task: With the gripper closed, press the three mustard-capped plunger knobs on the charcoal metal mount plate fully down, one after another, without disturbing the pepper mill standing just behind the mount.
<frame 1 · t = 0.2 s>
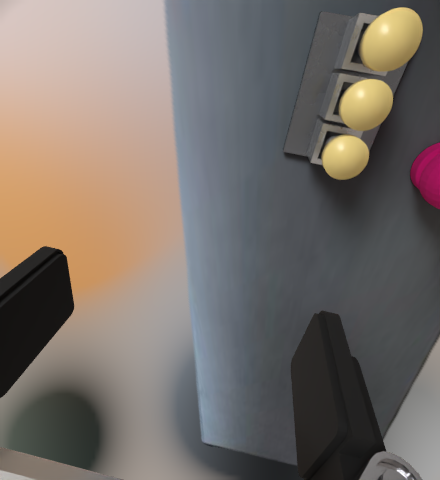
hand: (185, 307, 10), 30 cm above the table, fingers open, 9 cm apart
knob c: (339, 152, 29), point 7 cm above the table, slide at 0.0 cm
mount plate: (342, 97, 32), on the table
knob a: (380, 44, 24), point 7 cm above the table, slide at 0.0 cm
knob b: (358, 103, 26), point 7 cm above the table, slide at 0.0 cm
pepper mill: (437, 166, 34), on the table
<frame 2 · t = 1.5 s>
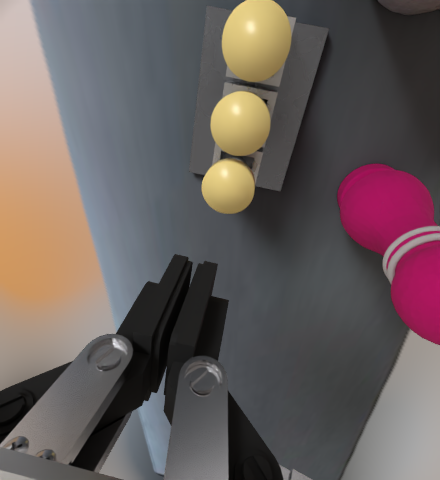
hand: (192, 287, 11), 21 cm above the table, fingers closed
knob c: (232, 177, 23), point 7 cm above the table, slide at 0.0 cm
mount plate: (249, 109, 27), on the table
knob a: (257, 46, 19), point 7 cm above the table, slide at 0.0 cm
knob b: (243, 119, 21), point 7 cm above the table, slide at 0.0 cm
pepper mill: (367, 192, 29), on the table
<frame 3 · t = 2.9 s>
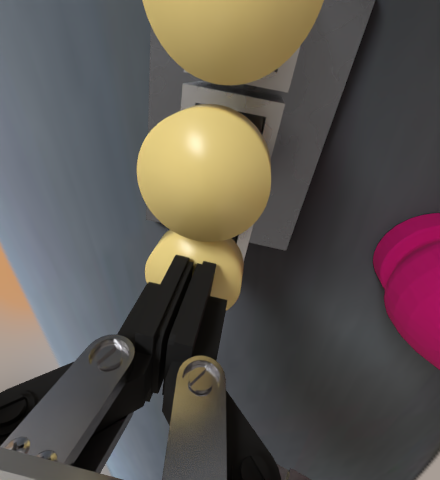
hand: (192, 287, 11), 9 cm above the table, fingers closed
knob c: (205, 245, 14), point 6 cm above the table, slide at 0.9 cm, touching gripper
mount plate: (236, 127, 16), on the table
knob a: (242, 3, 8), point 7 cm above the table, slide at 0.0 cm
knob b: (217, 158, 11), point 7 cm above the table, slide at 0.0 cm
pepper mill: (421, 252, 19), on the table
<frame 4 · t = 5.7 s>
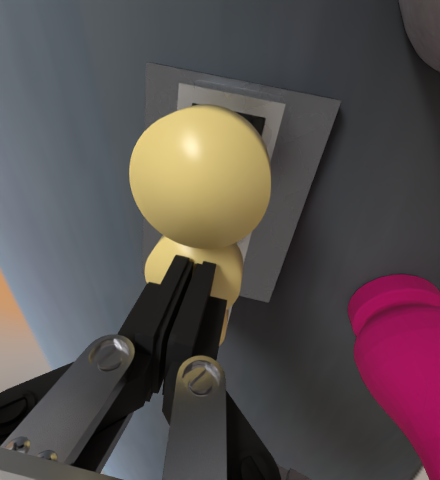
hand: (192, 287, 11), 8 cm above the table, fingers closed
knob c: (199, 293, 17), point 4 cm above the table, slide at 2.8 cm
mount plate: (221, 200, 19), on the table
knob a: (214, 161, 10), point 7 cm above the table, slide at 0.0 cm
knob b: (205, 245, 14), point 6 cm above the table, slide at 1.4 cm, touching gripper
pepper mill: (390, 304, 21), on the table
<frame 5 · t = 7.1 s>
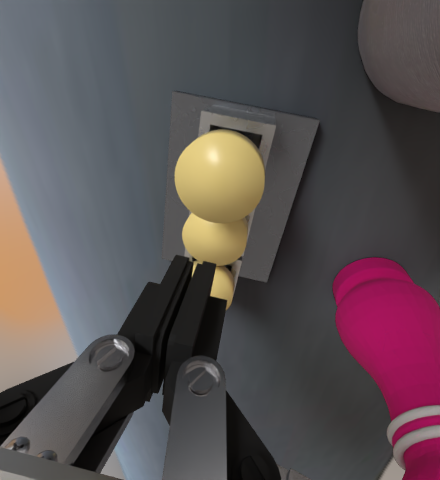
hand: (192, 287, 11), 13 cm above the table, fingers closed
knob c: (211, 270, 22), point 4 cm above the table, slide at 2.8 cm
mount plate: (228, 197, 23), on the table
knob a: (227, 165, 15), point 7 cm above the table, slide at 0.0 cm
knob b: (220, 219, 19), point 4 cm above the table, slide at 2.8 cm
pepper mill: (368, 283, 25), on the table
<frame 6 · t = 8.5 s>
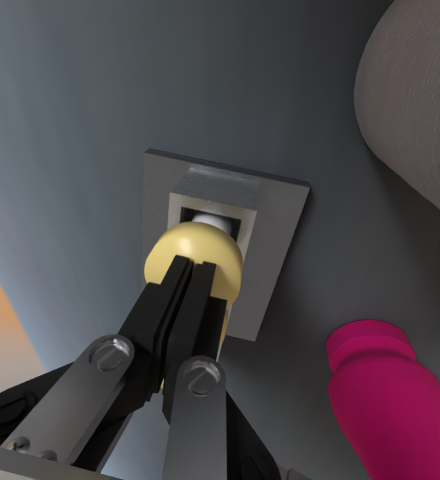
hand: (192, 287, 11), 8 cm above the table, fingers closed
knob c: (191, 341, 20), point 4 cm above the table, slide at 2.8 cm
mount plate: (211, 255, 21), on the table
knob a: (204, 244, 14), point 6 cm above the table, slide at 1.5 cm, touching gripper
knob b: (199, 293, 17), point 4 cm above the table, slide at 2.8 cm
pepper mill: (364, 343, 23), on the table
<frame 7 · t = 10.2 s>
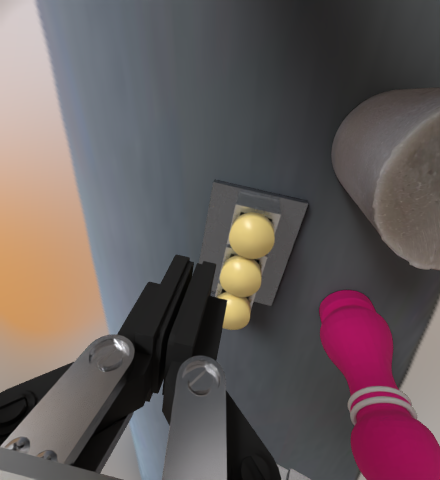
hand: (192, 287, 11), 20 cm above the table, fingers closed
pillar candle: (382, 147, 26), on the table
knob c: (233, 298, 31), point 4 cm above the table, slide at 2.8 cm
mount plate: (245, 245, 33), on the table
knob a: (253, 226, 27), point 4 cm above the table, slide at 2.8 cm
knob b: (242, 264, 29), point 4 cm above the table, slide at 2.8 cm
pepper mill: (344, 308, 35), on the table
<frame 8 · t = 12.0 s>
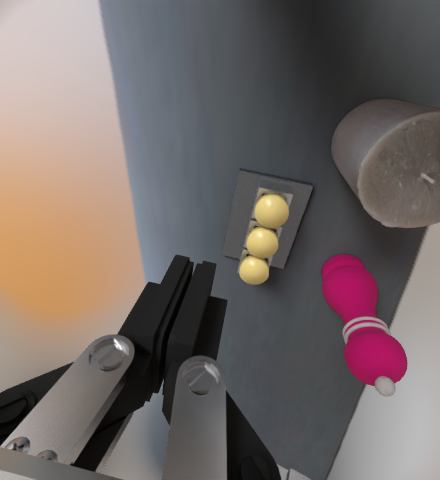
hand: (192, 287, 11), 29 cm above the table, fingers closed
pillar candle: (370, 141, 34), on the table
knob c: (254, 261, 40), point 4 cm above the table, slide at 2.8 cm
mount plate: (263, 220, 41), on the table
knob a: (271, 204, 35), point 4 cm above the table, slide at 2.8 cm
knob b: (262, 234, 38), point 4 cm above the table, slide at 2.8 cm
pepper mill: (341, 269, 44), on the table
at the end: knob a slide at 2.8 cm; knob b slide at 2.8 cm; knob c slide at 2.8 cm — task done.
